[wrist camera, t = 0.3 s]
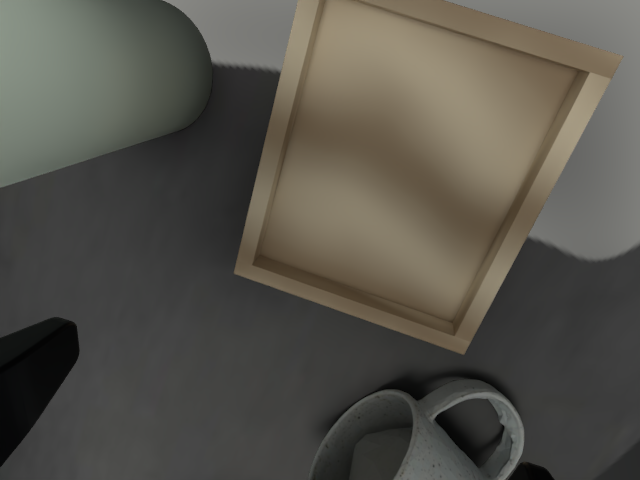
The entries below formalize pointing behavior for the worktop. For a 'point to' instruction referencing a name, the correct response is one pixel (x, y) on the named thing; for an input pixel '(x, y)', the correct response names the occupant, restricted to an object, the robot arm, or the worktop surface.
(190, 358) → the worktop surface
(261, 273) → the tray
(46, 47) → the pillar candle
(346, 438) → the ceramic mug
